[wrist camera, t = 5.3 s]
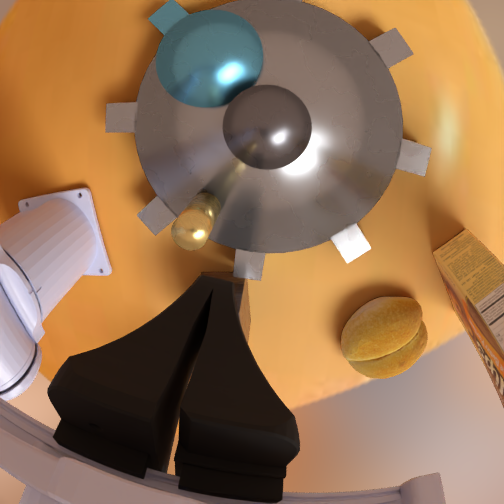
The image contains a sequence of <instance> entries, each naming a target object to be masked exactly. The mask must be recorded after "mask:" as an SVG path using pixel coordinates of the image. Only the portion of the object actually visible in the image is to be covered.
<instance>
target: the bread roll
mask: <svg viewBox="0 0 504 504" xmlns="http://www.w3.org/2000/svg"><path fill="white" fill-rule="evenodd" d="M426 344H427V330H426V326H425V324H424V323H423V321H422V309H421V306H420V305H419V303H418V302H417V301H416V300H414V299H412V298H409V297H379V298H376V299H374V300H371V301H369V302H368V303H366V304H365V305H363V306H362V307H361V308H359V309H358V310H357V311H356V312H355V313H354V314H353V315H352V316H351V318H350V319H349V320H348V322H347V323H346V325H345V327H344V329H343V331H342V336H341V350H342V353H343V355H344V357H345V358H346V359H347V361H348V362H349V363H350V365H351V366H352V367H353V368H354V369H355V370H356V371H358V372H359V373H361V374H363V375H365V376H366V377H370V378H380V379H384V378H389V377H393V376H396V375H398V374H401V373H402V372H404V371H406V370H407V369H409V368H410V367H411V366H412V365H413V364H414V363H415V362H416V361H417V360H418V359H419V358H420V356H421V354H422V353H423V351H424V349H425V347H426Z"/></svg>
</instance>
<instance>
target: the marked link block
mask: <svg viewBox="0 0 504 504" xmlns="http://www.w3.org/2000/svg"><path fill="white" fill-rule="evenodd" d="M233 273H234V272H202V273H201V275H205V276H209V277H214V278H218V279H222V280H227V281H231V282H233V283H234V284H235V301H236V307H237V311H238V316H239V320H240V323H241V327H242V330H243V333H244V335H245V338H246V341H247V343H248V338H249V330H250V322H251V317H250V306H249V295H248V283H247V279H246V278H239V277H233ZM201 275H200V276H201Z"/></svg>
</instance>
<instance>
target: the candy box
mask: <svg viewBox="0 0 504 504" xmlns="http://www.w3.org/2000/svg"><path fill="white" fill-rule="evenodd" d="M433 255H434V258H435V260H436V263H437V265H438V268H439V270H440V273H441V275H442V278H443V281H444V283H445V286H446V289H447V291H448V294H449V297H450V299H451V302H452V305H453V308H454V311H455V313H456V315H457V316H458V318H459V320H460V321H461V323H462V325H463V326H464V328H465V330H466V332H467V333H468V335H469V337H470V339H471V340H472V342H473V344H474V346H475V348H476V350H477V352H478V353H479V355H480V357H481V359H482V361H483V363H484V365H485V367H486V369H487V371H488V373H489V376H490V378H491V380H492V382H493V384H494V387H495V389H496V391H497V393H498V395H499V398H500V400H501V402H502V405H503V407H504V265H503V264H502V263H501V262H500V261H499V260H498V259H497V258H496V257H495V256H494V254H492V253H491V252H490V251H489V250H488V249H487V248H486V247H485V246H484V245H483V244H482V243H481V242H480V241H479V240H478V239H477V238H476V237H475V236H474V235H473V234H472V233H471V232H469V230H467V229H464V230H463V231H462V232H460V233H459V234H458V235H457V236H455V237H454V238H453V239H451V240H450V241H448V242H447V243H446V244H444V245H443V246H441V247H440V248H438V249H437V250H435V251H434V252H433Z"/></svg>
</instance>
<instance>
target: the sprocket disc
mask: <svg viewBox="0 0 504 504" xmlns="http://www.w3.org/2000/svg"><path fill="white" fill-rule="evenodd" d="M148 20H149V21H150V22H151V23H152V24H153V25H154V26H155V27H156V28H157V29H158V30H159V31H160V32H161V33H162V34H163V35H164V37H163V38H162V40H161V42H160V44H159V47H158V50H157V53H156V55H155V57H154V58H153V60H152V62H151V63H150V65H149V67H148V68H147V71H146V73H145V75H144V78H143V80H142V83H141V85H140V89H139V93H138V96H137V100H136V102H118V103H108V104H106V132H135V140H136V146H137V151H138V155H139V158H140V162H141V165H142V168H143V170H144V172H145V175H146V177H147V179H148V181H149V183H150V184H151V186H152V188H153V189H154V191H155V193H156V194H157V196H156V197H155V198H154V199H153V200H152V201H151V202H150V203H149V204H148V205H147V206H146V207H145V208H143V209H142V210H141V211H140V212H139V213H138V214H137V216H138V217H139V218H140V219H141V221H142V222H143V223H144V224H145V225H146V226H147V227H148V228H149V229H150V230H151V232H152V233H153V234H154V235H155V236H156V235H157V234H158V233H159V232H160V231H161V230H163V229H164V228H165V227H166V226H167V225H169V224H170V223H171V222H172V221H173V220H174V219H176V218H177V219H176V221H175V222H174V223H173V225H172V229H171V234H172V237H173V240H174V241H175V243H176V244H177V245H178V246H180V247H181V248H183V249H186V250H197V249H200V248H201V247H202V246H204V244H205V243H206V241H207V239H210V240H212V241H214V242H217V243H219V244H222V245H225V246H228V247H231V248H234V249H236V253H235V263H234V273H233V277H239V278H246V279H253V280H260V281H261V276H262V270H263V264H264V258H265V253H285V252H292V251H298V250H302V249H306V248H310V247H314V246H316V245H319V244H321V243H324V242H326V241H329V240H332V241H333V243H334V244H335V246H336V247H337V249H338V250H339V252H340V253H341V255H342V256H343V258H344V259H345V261H346V262H347V263H349V262H350V261H352V260H353V259H355V258H357V257H358V256H360V255H362V254H363V253H365V252H366V251H368V250H370V249H371V247H370V245H369V243H368V242H367V240H366V238H365V236H364V235H363V233H362V231H361V230H360V228H359V227H358V225H357V223H358V222H359V221H360V220H361V219H362V218H363V217H364V216H365V215H366V214H367V213H368V212H369V211H370V210H371V209H372V208H373V207H374V205H375V204H376V203H377V202H378V200H379V199H380V198H381V196H382V195H383V193H384V191H385V190H386V188H387V187H388V185H389V183H390V181H391V178H392V176H393V174H394V172H395V169H400V170H403V171H407V172H410V173H414V174H417V175H421V176H424V177H425V173H426V169H427V165H428V161H429V157H430V153H431V148H430V147H427V146H425V145H422V144H419V143H416V142H413V141H410V140H407V139H404V138H403V118H402V110H401V103H400V99H399V95H398V92H397V88H396V85H395V83H394V80H393V78H392V76H391V74H390V71H389V69H388V68H390V67H391V66H393V65H395V64H397V63H398V62H400V61H402V60H404V59H406V58H407V57H409V56H411V55H413V52H412V51H411V49H410V48H409V46H408V45H407V43H406V42H405V40H404V39H403V37H402V36H401V35H400V33H399V32H398V31H397V29H396V28H394V29H392V30H390V31H388V32H386V33H384V34H382V35H380V36H378V37H376V38H374V39H372V40H371V41H368V40H367V39H366V38H365V37H364V36H363V35H362V34H361V33H359V32H358V31H357V30H356V29H355V28H354V27H352V26H351V25H350V24H348V23H347V22H345V21H344V20H342V19H341V18H339V17H338V16H336V15H334V14H332V13H330V12H328V11H326V10H324V9H322V8H319V7H316V6H314V5H311V4H308V3H305V2H302V0H238V1H233V2H229V3H226V4H223V5H220V6H218V7H215V8H212V9H210V10H204V11H199V12H196V13H193V14H189V13H188V12H187V11H186V10H185V9H183V8H182V7H181V6H180V5H179V4H178V3H177V2H176V1H175V0H169V1H168V2H167V3H166V4H164V5H163V6H162V7H161V8H160V9H158V10H157V11H156V12H155V13H154V14H153V15H152V16H150V17H149V18H148Z"/></svg>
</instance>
